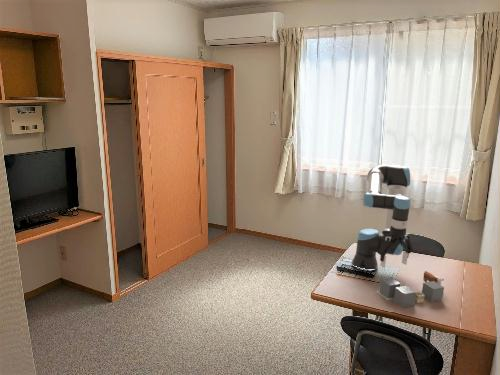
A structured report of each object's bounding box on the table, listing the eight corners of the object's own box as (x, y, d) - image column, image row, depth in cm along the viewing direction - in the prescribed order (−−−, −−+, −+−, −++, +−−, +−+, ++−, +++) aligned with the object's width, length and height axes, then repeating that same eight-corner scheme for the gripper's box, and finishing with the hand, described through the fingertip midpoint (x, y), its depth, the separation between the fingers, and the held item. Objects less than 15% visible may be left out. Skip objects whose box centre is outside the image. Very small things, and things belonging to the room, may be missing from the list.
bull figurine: (437, 293, 206) (439, 280, 204) (420, 282, 219) (422, 268, 217) (444, 293, 208) (446, 279, 206) (426, 281, 220) (429, 268, 218)
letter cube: (411, 299, 200) (413, 291, 199) (418, 298, 202) (419, 290, 201) (417, 303, 197) (418, 295, 196) (423, 302, 198) (424, 294, 197)
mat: (376, 291, 206) (376, 291, 206) (390, 289, 209) (390, 288, 209) (387, 300, 198) (387, 299, 198) (401, 297, 201) (401, 297, 201)
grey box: (387, 298, 199) (389, 285, 197) (379, 291, 206) (381, 279, 204) (398, 296, 202) (400, 283, 200) (390, 290, 208) (391, 277, 206)
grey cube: (421, 295, 204) (423, 282, 202) (431, 293, 206) (433, 281, 205) (431, 302, 198) (433, 289, 196) (441, 300, 200) (444, 287, 198)
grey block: (393, 300, 198) (395, 287, 196) (404, 298, 201) (406, 285, 199) (402, 307, 192) (404, 294, 190) (414, 305, 194) (416, 292, 192)
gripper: (382, 231, 187) (377, 271, 193) (423, 227, 195) (417, 265, 201) (373, 226, 194) (368, 264, 200) (413, 222, 202) (407, 259, 208)
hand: (393, 265), depth 200 cm, fingers open, 13 cm apart
